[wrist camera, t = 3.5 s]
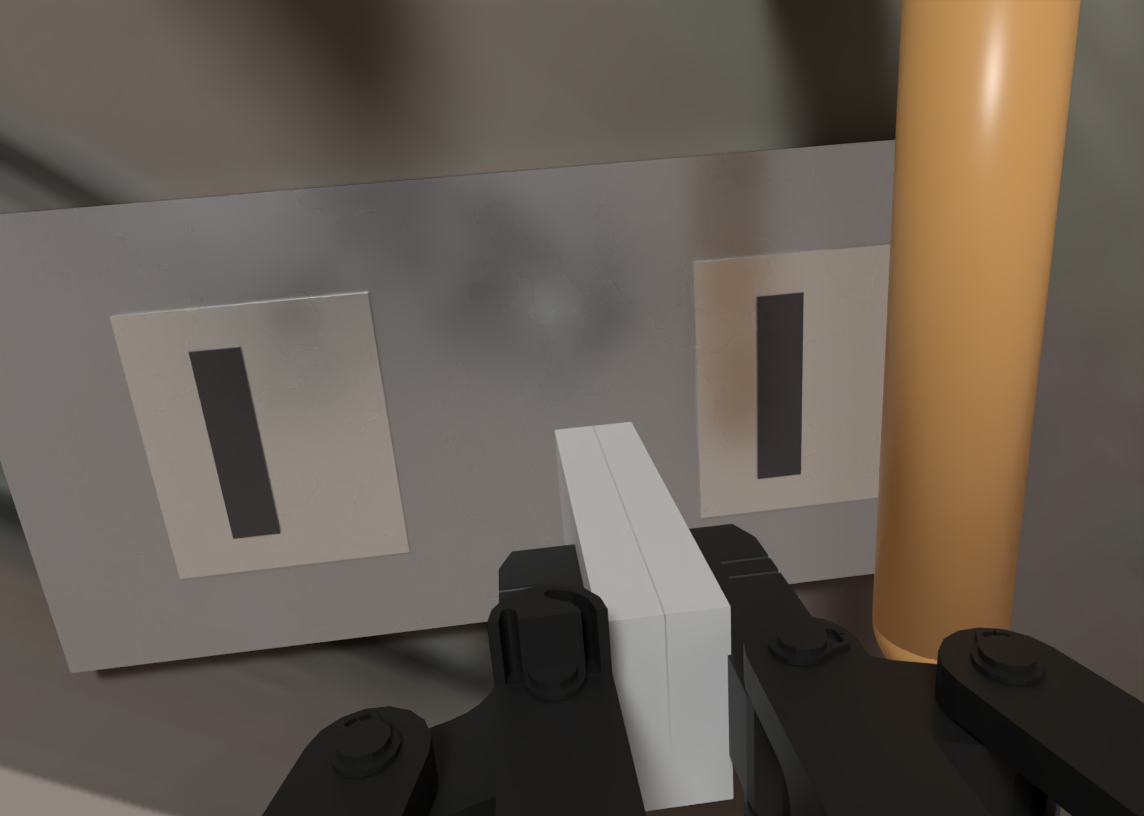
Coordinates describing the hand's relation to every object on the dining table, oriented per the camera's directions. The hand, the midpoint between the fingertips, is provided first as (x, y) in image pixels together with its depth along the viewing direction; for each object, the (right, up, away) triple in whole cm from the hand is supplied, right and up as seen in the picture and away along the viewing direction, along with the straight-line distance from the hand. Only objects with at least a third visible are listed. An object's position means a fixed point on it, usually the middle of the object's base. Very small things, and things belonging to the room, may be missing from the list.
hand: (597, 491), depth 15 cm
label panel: (-1, +2, +6) cm, 6 cm away
